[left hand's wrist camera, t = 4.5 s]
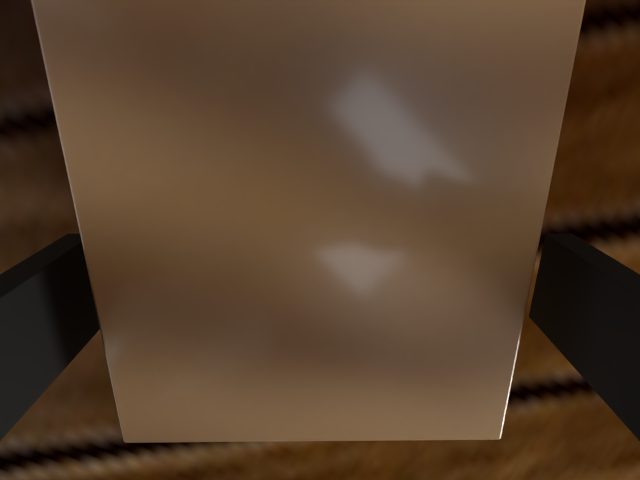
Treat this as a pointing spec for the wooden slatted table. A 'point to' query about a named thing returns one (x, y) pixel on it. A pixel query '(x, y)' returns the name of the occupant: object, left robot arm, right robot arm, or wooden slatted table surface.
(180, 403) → the cabinet
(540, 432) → the wooden slatted table surface
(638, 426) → the left robot arm
